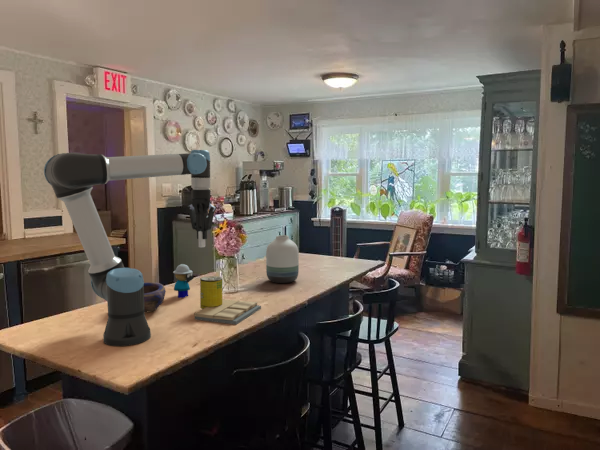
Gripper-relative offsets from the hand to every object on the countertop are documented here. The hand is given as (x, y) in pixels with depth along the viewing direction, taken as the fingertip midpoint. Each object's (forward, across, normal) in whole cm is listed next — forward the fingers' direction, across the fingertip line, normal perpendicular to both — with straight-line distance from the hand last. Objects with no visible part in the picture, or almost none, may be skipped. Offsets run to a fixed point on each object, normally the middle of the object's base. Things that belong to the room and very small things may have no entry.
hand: (202, 247), depth 188 cm
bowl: (+27, +23, +10) cm, 36 cm away
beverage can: (+25, -3, -2) cm, 26 cm away
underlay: (+26, -12, 0) cm, 29 cm away
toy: (+27, +21, -15) cm, 37 cm away
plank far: (+25, -15, -6) cm, 30 cm away
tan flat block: (+25, -16, +6) cm, 30 cm away
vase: (+27, -8, -60) cm, 66 cm away
